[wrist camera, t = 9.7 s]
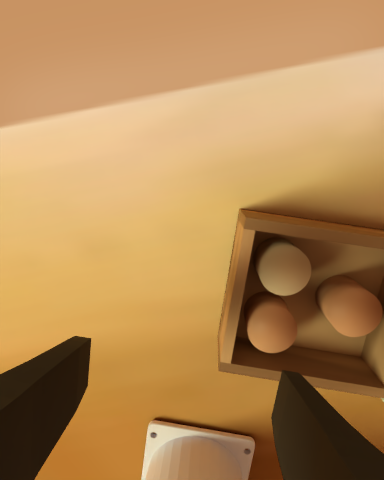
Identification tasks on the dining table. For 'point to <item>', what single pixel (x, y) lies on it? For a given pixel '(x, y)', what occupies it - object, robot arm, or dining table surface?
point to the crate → (305, 303)
